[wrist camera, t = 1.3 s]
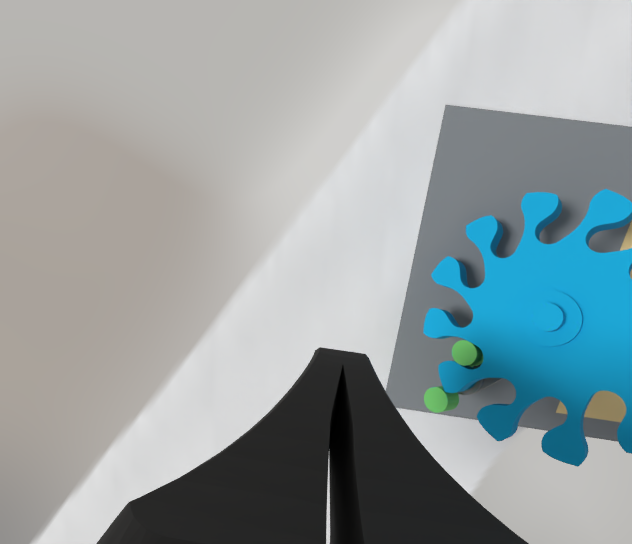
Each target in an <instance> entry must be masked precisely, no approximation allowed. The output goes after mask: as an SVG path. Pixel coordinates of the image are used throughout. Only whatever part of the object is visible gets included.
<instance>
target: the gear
mask: <svg viewBox="0 0 632 544" xmlns="http://www.w3.org/2000/svg"><path fill="white" fill-rule="evenodd" d="M521 209H522V212H523V214H524V220H525V228H524V233H523V236H522V239H521V241H520V243H519V245H518V247H517V249H516V251H515V252H514V253H513V254H512V255H511V256H509V257H507V258H499V257H498V256H497V253H496V249H497V246H498V244H499V242H500V240H501V238H502V235H503V227H502V225H501V223H500V222H499V221H498V220H497V219H495V218H494V217H493V216H492V215H490V216H485V217H482V218H479V219H477V220H475V221H473V222H471V223H469V224H468V225H466V234H467V237H468V238H469V239H470V240H471V241H472V242H473V243H475V245H476V246H477V247H478V248H479V250H480V252H481V254H482V257H483V260H484V266H485V279H484V281H483V283H482V284H481V285H480V286H479V287H476V288H470V287H469V285H468V283H467V272H466V268H465V266H464V265H463V263H461V262H460V261H458V260H456V259H454V258H452V257H449V256H447V257H446V258H444V259H443V260H442V261H441V262H440V263H439V264H438V265H437V267H436V268H435V269H434V271H433V272H432V274H431V276H432V279H433V280H434V281H435V282H436V283H437V284H439V285H442V286H444V287H447V288H452V289H453V290H455V291H457V292H458V293H459V294H460V295H461V296H462V297H463V298H464V299H465V300H466V302H467V303H468V305H469V306H470V308H471V309H472V311H473V319H472V322H471V323H470V324H469V325H468V326H466V327H464V328H462V327H461V326H459V324H458V323H457V321H456V320H455V318H454V317H453V315H452V314H451V313H450V312H448V311H446V310H442V309H438V308H430V309H429V310H428V312H427V314H426V317H425V322H424V329H423V333H424V334H425V335H426V336H428V337H431V338H437V339H445V338H449V337H459V338H463V339H465V340H461V341H458V342H456V343H455V344H454V346H453V348H452V357H453V360H451V361H444V362H442V363H440V364H439V365H438V371H439V377H440V380H441V383H442V386H439V387H431V388H429V389H428V390H427V391H426V392H425V395H424V402H425V405H426V407H427V408H428V409H429V410H430V411H432V412H435V413H439V412H444V411H449V410H453V409H455V408H456V407H457V406H458V403H459V395H458V394H461V395H470V394H475V393H478V392H480V391H482V390H483V389H485V388H487V387H489V386H491V385H493V384H495V383H496V382H498V381H500V380H502V379H507V380H508V381H510V382H511V383H512V384H513V385H514V387H515V390H516V398H515V400H514V401H513V402H512V403H511V404H492V405H487V406H485V407H483V408H481V409H480V410H479V412H478V414H477V418H478V420H479V422H480V424H481V425H482V426H483V428H484V429H485V430H486V431H487V432H488V433H489V434H490V435H491V436H492V437H493V438H495V439H496V440H497V441H502V440H504V439H506V438H508V437H510V436H512V435H513V434H514V433H515V432H516V430H517V427H518V423H519V420H520V418H521V416H522V414H523V413H524V412H525V410H526V409H527V408H528V407H529V406H531V405H532V404H534V403H535V402H537V401H539V400H541V399H543V398H545V397H554V398H557V399H558V400H560V401H561V402H562V403H563V404H564V406H565V407H566V410H567V419H566V421H565V422H564V423H563V424H561V425H559V426H557V427H555V428H553V429H551V430H550V431H548V432H547V433H546V434H545V435H544V437H543V439H542V450H543V452H545V453H546V454H547V455H549V456H551V457H553V458H554V459H557V460H559V461H562V462H565V463H568V464H571V465H575V466H579V465H580V464H581V463H582V462H583V461H584V460H585V458H586V457H587V454H588V445H587V442H586V439H585V436H584V430H583V419H584V415H585V411H586V409H587V407H588V405H589V403H590V401H591V399H592V398H593V396H594V395H595V393H597V392H598V391H610V392H613V393H615V394H617V395H618V396H620V397H621V398H622V400H623V401H624V403H625V405H626V414H625V416H624V418H623V420H622V422H621V423H620V425H619V427H618V429H617V439H618V441H619V444H620V445H621V447H622V448H623V449H624V450H625V451H626V452H627V453H632V279H631V278H630V273H631V270H632V248H630V249H627V250H621V251H615V252H607V253H598V252H595V251H592V250H591V249H590V248H589V240H590V238H591V237H592V236H593V235H594V234H595V233H597V232H599V231H603V230H610V229H616V228H620V227H623V226H625V225H627V224H628V223H629V222H630V221H631V220H632V203H631V201H630V200H628V199H627V198H625V197H624V196H622V195H620V194H618V193H616V192H613V191H610V190H608V189H604V190H602V191H600V192H598V193H597V194H596V195H595V196H594V197H593V198H592V200H591V202H590V205H589V209H588V212H587V214H586V216H585V218H584V219H583V221H582V222H581V224H580V225H579V226H578V227H577V228H576V229H575V230H574V231H573V232H571V233H570V234H569V235H567V236H566V237H564V238H563V239H561V240H560V241H558V242H556V243H553V244H544V243H541V242H540V238H539V237H540V233H541V231H542V230H543V228H545V227H546V226H547V225H549V224H550V223H552V222H553V221H554V220H556V219H557V218H558V217H559V215H560V213H561V211H562V203H561V201H560V199H559V197H558V196H557V195H556V194H553V193H547V192H533V193H526V194H525V196H524V197H523V199H522V202H521Z"/></svg>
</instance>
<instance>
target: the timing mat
mask: <svg viewBox="0 0 632 544" xmlns="http://www.w3.org/2000/svg"><path fill="white" fill-rule="evenodd" d="M604 189H608V190H610V191H613V192H616V193H618V194H620V195H622V196H624V197H625V198H627V199H628V200H630V201H631V203H632V127H628V126H620V125H612V124H603V123H595V122H586V121H578V120H569V119H561V118H552V117H544V116H535V115H527V114H519V113H510V112H502V111H493V110H485V109H476V108H468V107H459V106H451V105H446V106H445V111H444V116H443V120H442V125H441V130H440V135H439V139H438V144H437V149H436V154H435V159H434V163H433V168H432V173H431V178H430V182H429V187H428V192H427V197H426V202H425V206H424V211H423V216H422V221H421V225H420V230H419V235H418V240H417V245H416V249H415V254H414V259H413V264H412V269H411V273H410V278H409V283H408V288H407V292H406V297H405V302H404V307H403V312H402V316H401V321H400V326H399V331H398V335H397V340H396V345H395V350H394V355H393V359H392V364H391V369H390V374H389V378H388V383H387V388H386V393H387V395H388V396H389V398H390V400H391V401H392V403H393V404H394V406H395V407H396V408H403V409H409V410H416V411H422V412H429V413H435V412H432V411H430V410H429V409H428V408H427V407H426V405H425V402H424V395H425V392H426V391H427V390H428V389H429V388H431V387H439V386H442V383H441V380H440V377H439V371H438V365H439V364H440V363H442V362H444V361H451V360H453V357H452V348H453V346H454V344H455V343H456V342H458V341H461V340H465V339H463V338H459V337H449V338H445V339H437V338H431V337H428V336H426V335H425V334H424V333H423V329H424V322H425V317H426V314H427V312H428V310H429V309H430V308H438V309H442V310H446V311H448V312H450V313H451V314H452V315H453V317H454V318H455V320H456V321H457V323H458V324H459V326H461V327H462V328H464V327H466V326H468V325H469V324H470V323H471V322H472V319H473V311H472V309H471V308H470V306H469V305H468V303H467V302H466V300H465V299H464V298H463V297H462V296H461V295H460V294H459V293H458V292H457V291H455V290H453V289H452V288H447V287H444V286H442V285H439V284H437V283H436V282H435V281H434V280H433V279H432V276H431V274H432V272H433V271H434V269H435V268H436V267H437V265H438V264H439V263H440V262H441V261H442V260H443V259H444V258H446V257H447V256H449V257H452V258H454V259H456V260H458V261H460V262H461V263H463V265H464V266H465V268H466V272H467V283H468V285H469V287H470V288H476V287H479V286H480V285H481V284H482V283H483V281H484V279H485V266H484V260H483V257H482V254H481V252H480V250H479V248H478V247H477V246H476V245H475V243H473V242H472V241H471V240H470V239H469V238H468V237H467V234H466V225H468V224H469V223H471V222H473V221H475V220H477V219H479V218H482V217H485V216H490V215H492V216H493V217H494V218H495V219H497V220H498V221H499V222H500V223H501V225H502V227H503V235H502V238H501V240H500V242H499V244H498V246H497V249H496V253H497V256H498V257H499V258H507V257H509V256H511V255H512V254H513V253H514V252H515V251H516V249H517V247H518V245H519V243H520V241H521V239H522V236H523V233H524V228H525V220H524V214H523V212H522V209H521V202H522V199H523V197H524V196H525V194H526V193H533V192H547V193H553V194H556V195H557V196H558V197H559V199H560V201H561V203H562V211H561V213H560V215H559V217H558V218H557V219H556V220H554V221H553V222H552V223H550V224H549V225H547V226H546V227H545V228H543V230H542V231H541V233H540V237H539V238H540V242H541V243H544V244H553V243H556V242H558V241H560V240H561V239H563V238H564V237H566V236H567V235H569V234H570V233H571V232H573V231H574V230H575V229H576V228H577V227H578V226H579V225H580V224H581V222H582V221H583V219H584V218H585V216H586V214H587V212H588V209H589V205H590V202H591V200H592V198H593V197H594V196H595V195H596V194H597V193H598V192H600V191H602V190H604ZM589 248H590V249H591V250H592V251H595V252H598V253H607V252H615V251H621V250H627V249H630V248H632V220H631V221H630V222H629V223H628V224H627V225H625V226H623V227H620V228H616V229H610V230H603V231H599V232H597V233H595V234H594V235H593V236H592V237H591V238H590V240H589ZM630 278H631V279H632V270H631V273H630ZM458 395H459V403H458V406H457V407H456V408H455V409H453V410H449V411H444V412H439V413H435V414H442V415H449V416H455V417H462V418H468V419H475V420H478V418H477V414H478V412H479V410H480V409H481V408H483V407H485V406H487V405H492V404H511V403H512V402H513V401H514V400H515V398H516V390H515V387H514V385H513V384H512V383H511V382H510V381H508V380H507V379H502V380H500V381H498V382H496V383H495V384H493V385H491V386H489V387H487V388H485V389H483V390H482V391H480V392H478V393H475V394H470V395H461V394H458ZM625 414H626V405H625V403H624V401H623V400H622V398H621V397H620V396H618V395H617V394H615V393H613V392H610V391H598V392H597V393H595V395H594V396H593V398H592V399H591V401H590V403H589V405H588V407H587V409H586V411H585V415H584V419H583V430H584V436H586V437H593V438H599V439H606V440H612V441H618V439H617V429H618V427H619V425H620V423H621V422H622V420H623V418H624V416H625ZM566 419H567V410H566V407H565V406H564V404H563V403H562V402H561V401H560V400H558V399H557V398H554V397H545V398H543V399H541V400H539V401H537V402H535V403H534V404H532V405H531V406H529V407H528V408H527V409H526V410H525V412H524V413H523V414H522V416H521V418H520V420H519V423H518V426H521V427H527V428H534V429H541V430H548V431H550V430H551V429H553V428H555V427H557V426H559V425H561V424H563V423H564V422H565V421H566Z"/></svg>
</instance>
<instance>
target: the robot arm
mask: <svg viewBox="0 0 632 544" xmlns="http://www.w3.org/2000/svg"><path fill="white" fill-rule="evenodd" d="M329 456H330V544H528V543H527V542H526V541H524V540H523V539H522V538H520V537H519V536H518V535H516V534H515V533H514V532H513V531H511V530H510V529H509V528H508V527H507V526H505V525H504V524H503V523H502V522H501V521H499V520H498V519H497V518H496V517H494V516H493V515H492V514H491V513H490V512H489V511H487V510H486V509H485V508H484V507H483V506H482V505H481V504H479V503H478V502H477V501H476V500H475V499H474V498H473V497H472V496H471V495H470V494H468V493H467V492H466V491H465V490H464V489H463V488H462V487H461V486H460V485H459V484H458V483H457V482H456V481H455V480H454V479H453V478H452V477H451V476H450V475H449V474H448V473H447V472H446V471H445V470H444V469H443V468H442V467H441V466H440V465H439V463H438V462H437V461H436V460H435V459H434V458H433V457H432V456H431V454H430V453H429V452H428V451H427V450H426V449H425V447H424V446H423V445H422V444H421V443H420V441H419V440H418V439H417V438H416V436H415V435H414V434H413V432H412V431H411V430H410V428H409V427H408V425H407V424H406V423H405V421H404V420H403V418H402V417H401V415H400V414H399V412H398V411H397V409H396V408H395V406H394V404H393V403H392V401H391V400H390V398H389V396H388V395H387V393H386V391H385V390H384V388H383V386H382V384H381V382H380V381H379V379H378V377H377V375H376V373H375V371H374V369H373V367H372V365H371V362H370V360H369V358H368V357H367V355H366V354H361V353H354V352H348V351H341V350H334V349H327V348H319V349H317V350H315V353H314V355H313V357H312V359H311V361H310V363H309V364H308V366H307V367H306V369H305V370H304V372H303V373H302V375H301V376H300V377H299V378H298V380H297V381H296V382H295V384H294V385H293V386H292V388H291V389H290V390H289V391H288V392H287V393H286V394H285V396H284V397H283V398H282V399H281V400H280V401H279V402H278V403H277V404H276V405H275V407H274V408H273V409H272V410H271V411H270V412H269V413H268V414H267V415H266V416H264V417H263V418H262V419H261V420H260V421H259V422H258V423H257V424H256V425H255V426H253V427H252V428H251V429H250V430H249V431H248V432H246V433H245V434H244V435H242V436H241V437H240V438H239V439H237V440H236V441H235V442H233V443H232V444H231V445H230V446H228V447H227V448H225V449H224V450H223V451H221V452H220V453H218V454H217V455H215V456H214V457H212V458H211V459H209V460H207V461H206V462H204V463H203V464H201V465H199V466H198V467H196V468H195V469H193V470H191V471H190V472H188V473H187V474H185V475H183V476H181V477H180V478H178V479H176V480H174V481H172V482H170V483H168V484H166V485H164V486H162V487H160V488H158V489H156V490H154V491H152V492H150V493H148V494H146V495H144V496H142V497H140V498H137V499H135V500H133V501H131V502H129V503H128V504H127V505H126V506H125V507H124V509H123V510H122V511H121V512H120V514H119V515H118V516H117V518H116V519H115V520H114V521H113V523H112V524H111V525H110V527H109V528H108V529H107V531H106V532H105V533H104V535H103V536H102V537H101V538H100V540H99V541H98V542H97V544H326V510H327V479H328V457H329Z"/></svg>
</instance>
